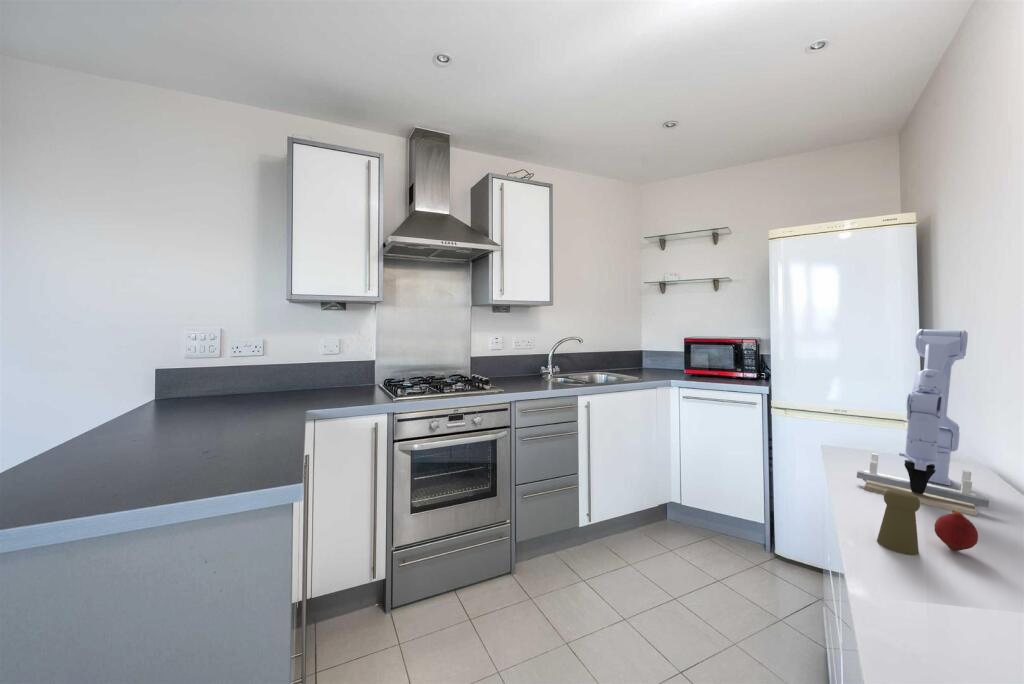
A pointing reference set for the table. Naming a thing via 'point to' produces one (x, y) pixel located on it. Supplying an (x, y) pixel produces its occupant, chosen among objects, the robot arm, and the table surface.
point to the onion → (956, 531)
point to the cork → (900, 522)
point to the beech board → (926, 498)
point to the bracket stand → (965, 484)
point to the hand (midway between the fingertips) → (917, 491)
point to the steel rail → (928, 490)
